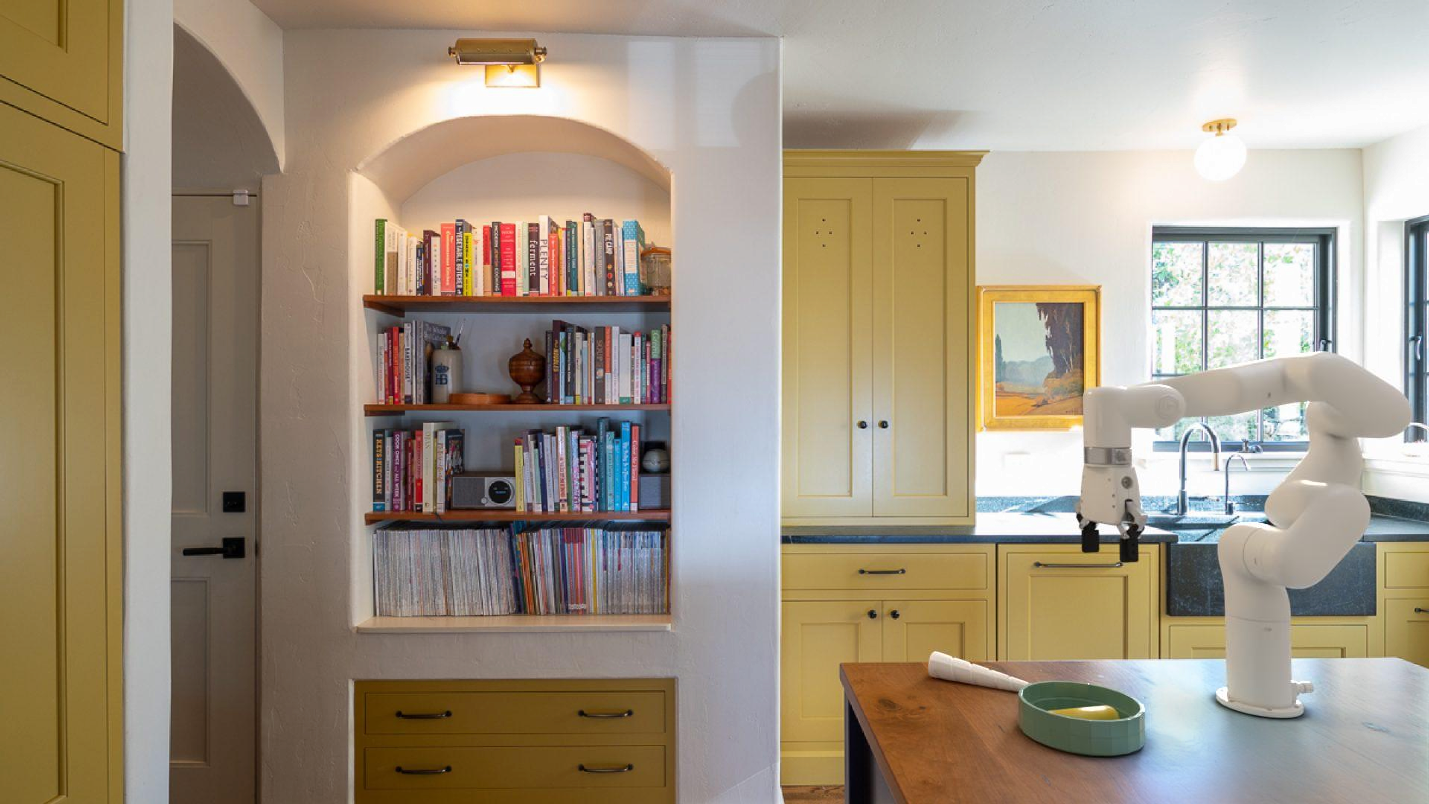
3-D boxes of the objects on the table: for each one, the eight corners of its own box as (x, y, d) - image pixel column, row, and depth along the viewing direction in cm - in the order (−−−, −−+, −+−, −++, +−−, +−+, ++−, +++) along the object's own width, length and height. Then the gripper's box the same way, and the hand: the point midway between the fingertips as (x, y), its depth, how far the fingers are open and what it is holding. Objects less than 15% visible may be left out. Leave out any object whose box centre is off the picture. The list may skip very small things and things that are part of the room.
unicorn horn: (1054, 705, 141) (1054, 677, 141) (925, 679, 156) (925, 654, 156) (1062, 697, 145) (1061, 670, 145) (935, 672, 160) (935, 648, 160)
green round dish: (1092, 709, 139) (1092, 677, 139) (1172, 752, 121) (1172, 715, 122) (997, 718, 136) (996, 685, 136) (1065, 764, 118) (1064, 726, 118)
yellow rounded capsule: (1109, 722, 132) (1109, 700, 132) (1124, 732, 128) (1124, 709, 128) (1034, 730, 129) (1034, 708, 129) (1048, 740, 125) (1048, 717, 125)
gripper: (1163, 460, 132) (1165, 565, 131) (1093, 455, 149) (1095, 548, 148) (1123, 461, 130) (1125, 567, 130) (1057, 456, 147) (1058, 549, 147)
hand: (1109, 557), depth 139 cm, fingers open, 9 cm apart
